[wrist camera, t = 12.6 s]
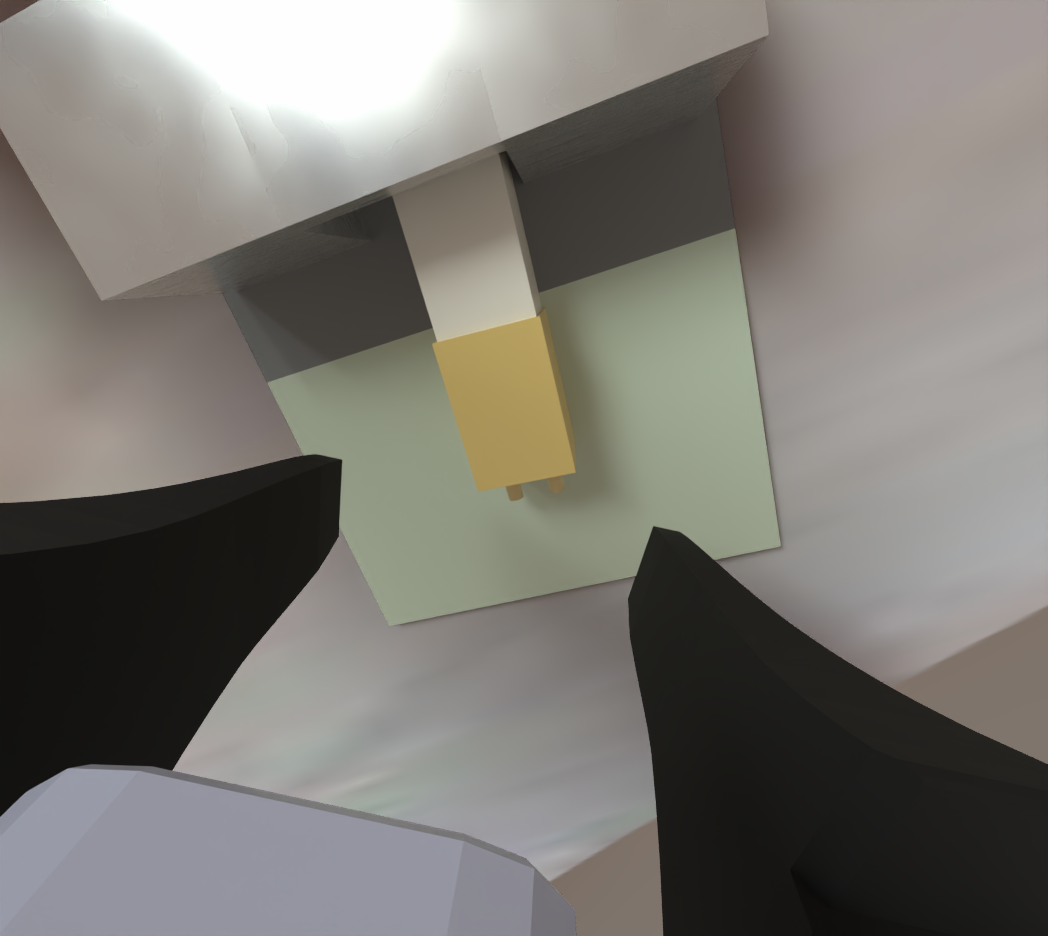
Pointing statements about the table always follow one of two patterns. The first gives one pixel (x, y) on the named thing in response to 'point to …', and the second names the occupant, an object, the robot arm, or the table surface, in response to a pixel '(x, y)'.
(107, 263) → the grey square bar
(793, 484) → the table surface
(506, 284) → the plug
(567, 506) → the mat
